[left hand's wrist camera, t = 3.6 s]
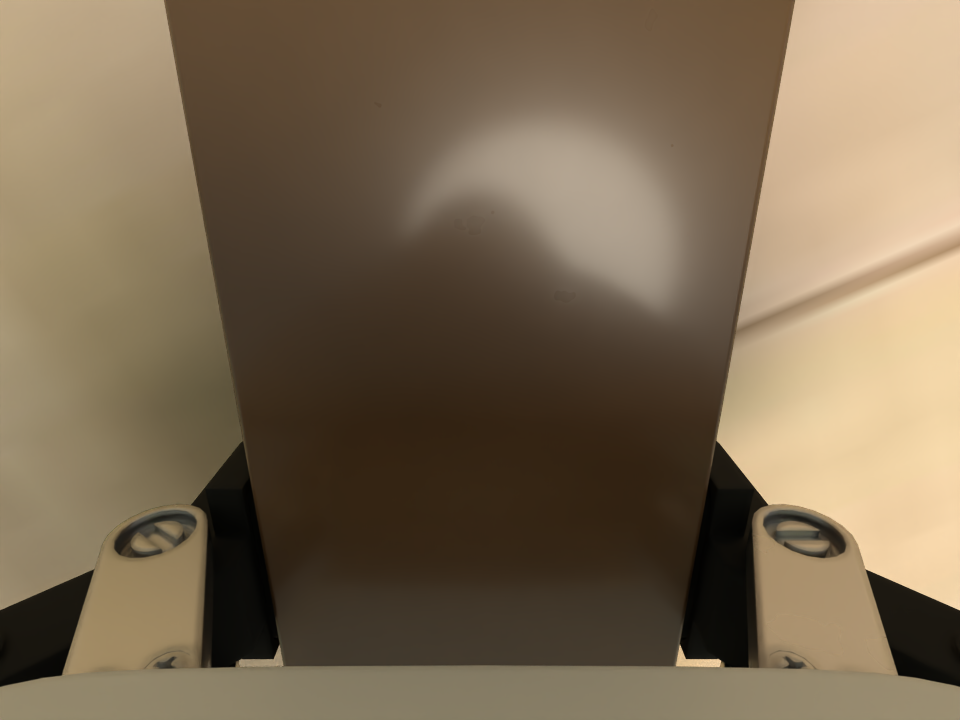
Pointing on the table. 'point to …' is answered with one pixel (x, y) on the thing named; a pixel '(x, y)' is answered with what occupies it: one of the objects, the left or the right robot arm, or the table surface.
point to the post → (479, 307)
